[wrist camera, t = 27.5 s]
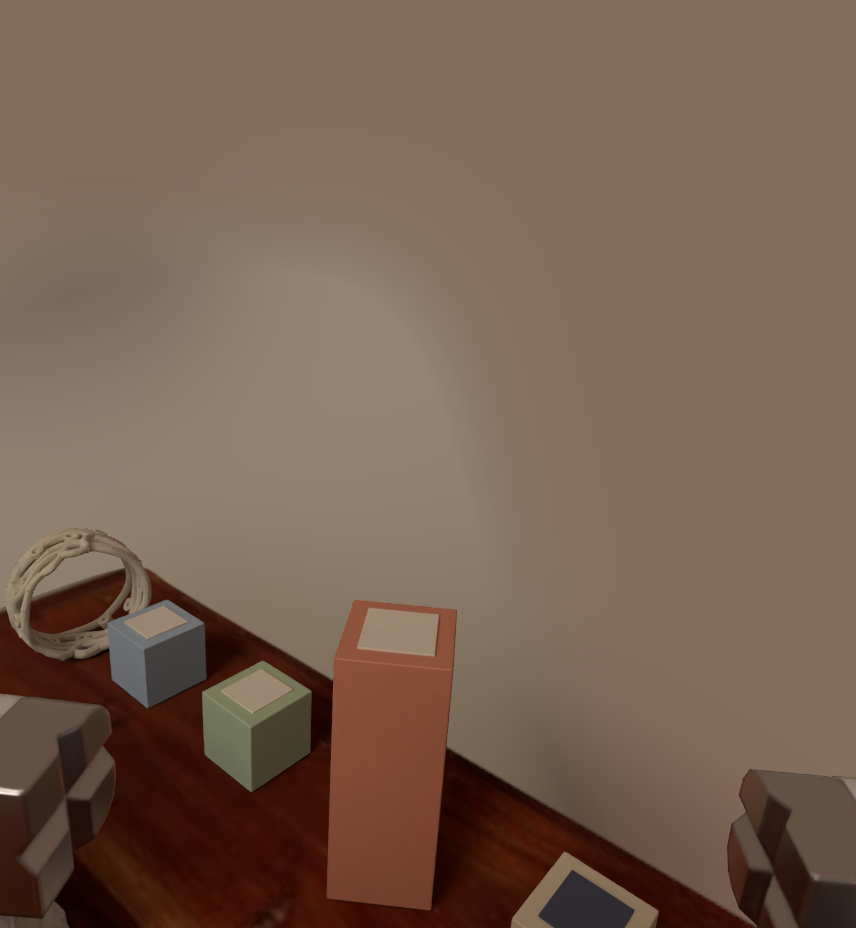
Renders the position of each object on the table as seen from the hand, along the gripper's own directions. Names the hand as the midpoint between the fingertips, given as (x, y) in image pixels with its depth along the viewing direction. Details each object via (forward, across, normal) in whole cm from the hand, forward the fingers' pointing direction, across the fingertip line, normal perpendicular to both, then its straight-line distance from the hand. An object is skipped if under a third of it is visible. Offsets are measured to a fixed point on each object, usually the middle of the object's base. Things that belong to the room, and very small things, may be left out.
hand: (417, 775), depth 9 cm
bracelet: (+31, +23, +21) cm, 44 cm away
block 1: (+29, +17, +21) cm, 40 cm away
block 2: (+23, +10, +21) cm, 33 cm away
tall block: (+18, +2, +21) cm, 27 cm away
